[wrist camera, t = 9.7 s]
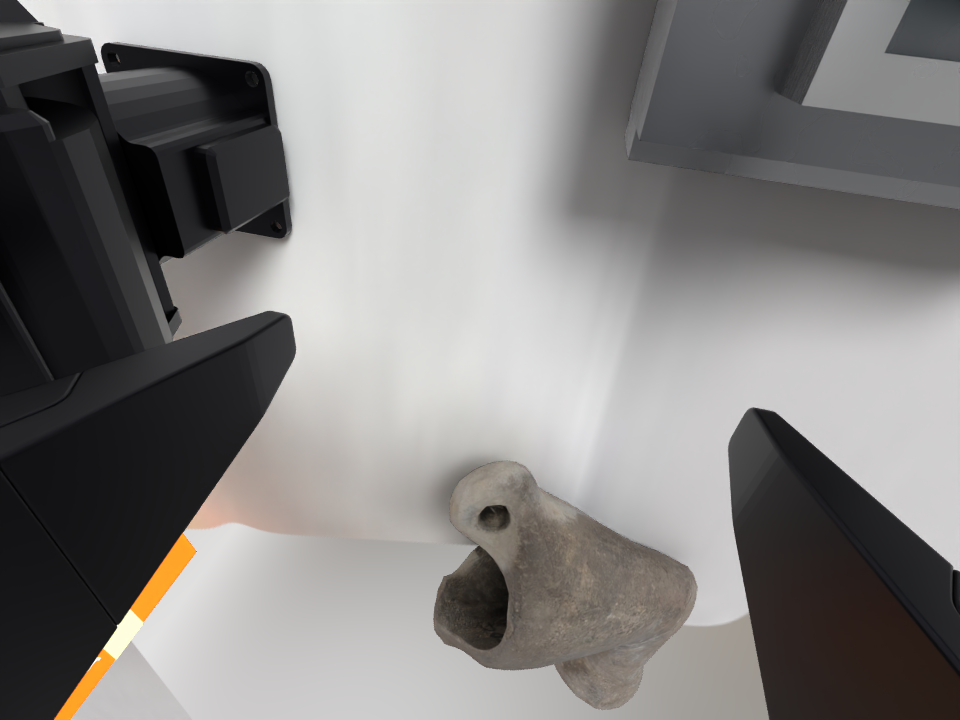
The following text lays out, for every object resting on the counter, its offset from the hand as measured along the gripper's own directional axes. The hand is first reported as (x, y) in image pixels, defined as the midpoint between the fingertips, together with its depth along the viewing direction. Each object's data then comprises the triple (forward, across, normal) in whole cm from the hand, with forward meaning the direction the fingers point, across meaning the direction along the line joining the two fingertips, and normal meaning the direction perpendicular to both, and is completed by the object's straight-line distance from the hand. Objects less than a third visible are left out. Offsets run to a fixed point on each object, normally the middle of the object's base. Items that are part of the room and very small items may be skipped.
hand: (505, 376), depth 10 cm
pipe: (+11, -4, +20) cm, 24 cm away
